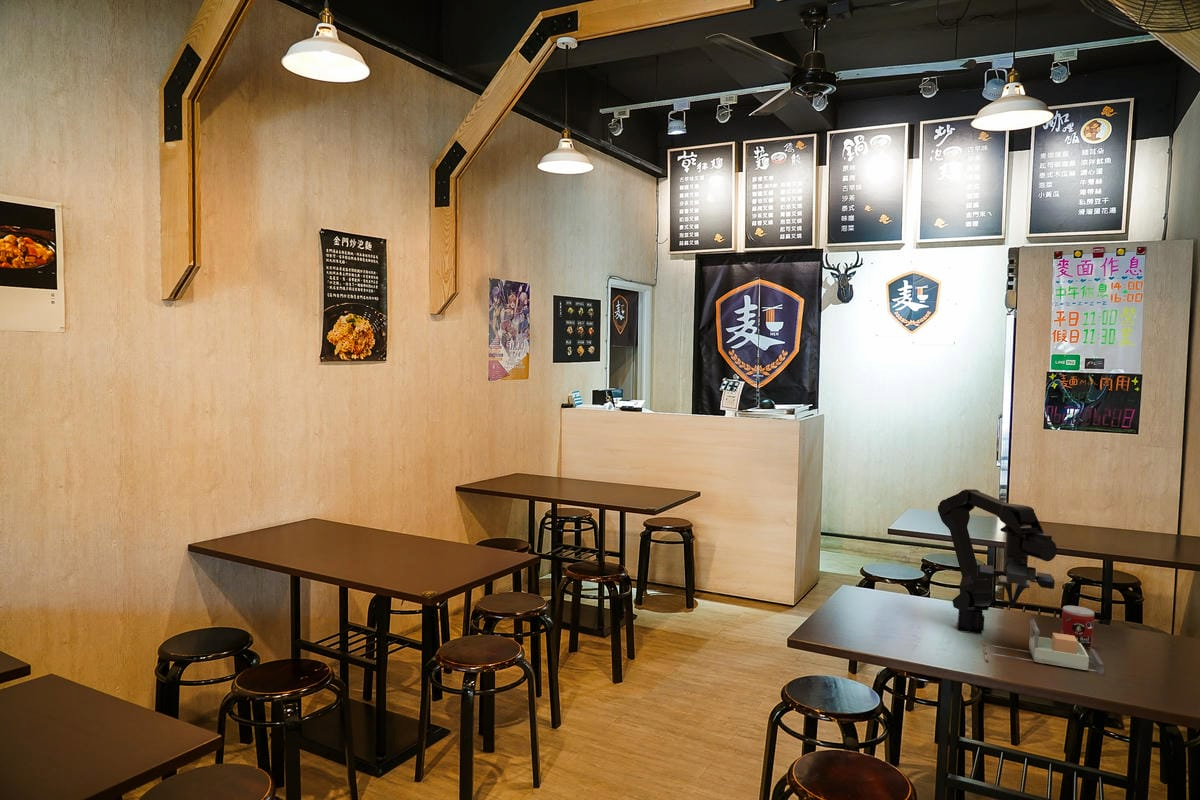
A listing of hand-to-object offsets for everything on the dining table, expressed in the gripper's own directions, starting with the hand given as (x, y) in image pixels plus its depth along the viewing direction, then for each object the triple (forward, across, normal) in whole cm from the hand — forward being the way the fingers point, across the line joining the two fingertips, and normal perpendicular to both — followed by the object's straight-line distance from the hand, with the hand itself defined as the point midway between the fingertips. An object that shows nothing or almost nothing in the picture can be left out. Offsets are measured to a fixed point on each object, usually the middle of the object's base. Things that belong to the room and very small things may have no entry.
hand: (1012, 606), depth 215 cm
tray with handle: (+10, +11, -7) cm, 17 cm away
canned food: (+12, +17, +10) cm, 23 cm away
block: (+9, +12, -7) cm, 17 cm away
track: (+12, +7, -7) cm, 15 cm away
